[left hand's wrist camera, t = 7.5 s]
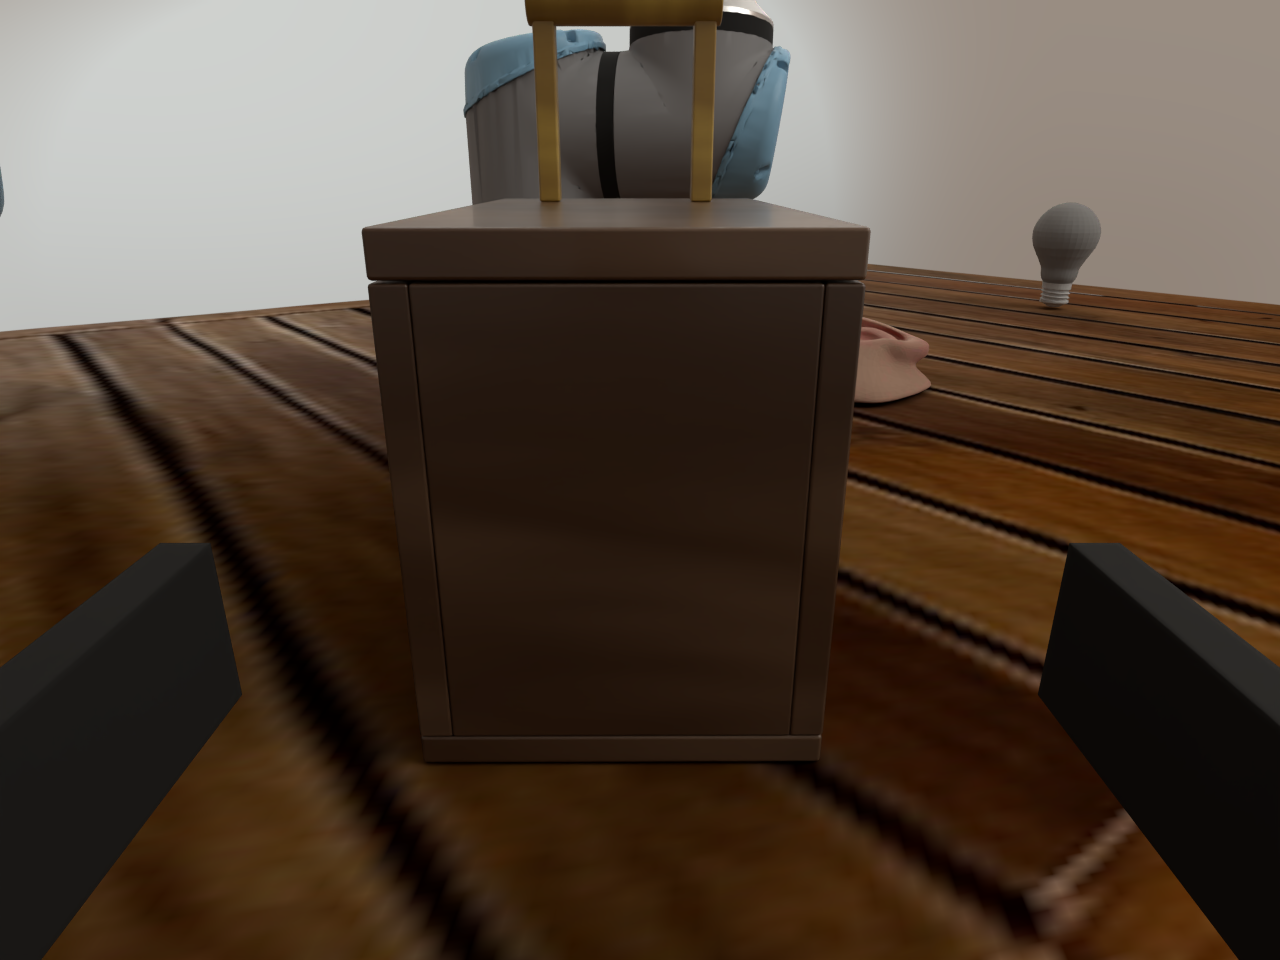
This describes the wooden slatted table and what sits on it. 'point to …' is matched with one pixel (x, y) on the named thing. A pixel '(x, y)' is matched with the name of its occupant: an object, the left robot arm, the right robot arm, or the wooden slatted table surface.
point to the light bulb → (1064, 248)
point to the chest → (619, 511)
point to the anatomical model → (888, 364)
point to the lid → (619, 227)
